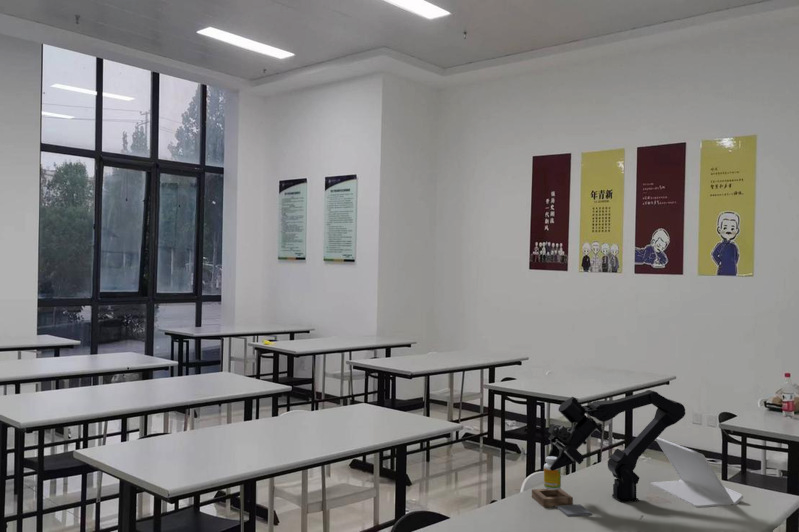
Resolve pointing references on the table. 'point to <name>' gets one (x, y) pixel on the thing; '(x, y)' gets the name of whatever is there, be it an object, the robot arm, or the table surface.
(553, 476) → the supplement bottle
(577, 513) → the rubber mat
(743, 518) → the table surface
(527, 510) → the table surface
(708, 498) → the tablet stand
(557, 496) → the walnut collar
